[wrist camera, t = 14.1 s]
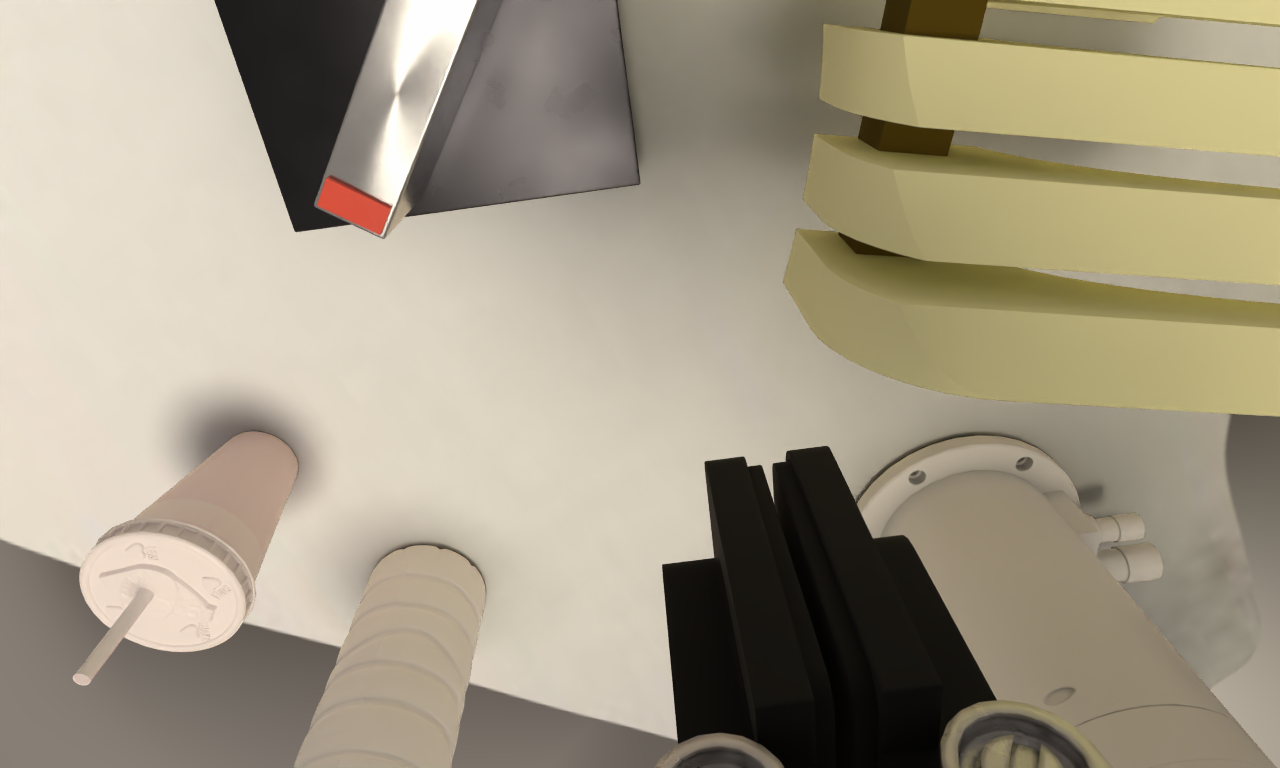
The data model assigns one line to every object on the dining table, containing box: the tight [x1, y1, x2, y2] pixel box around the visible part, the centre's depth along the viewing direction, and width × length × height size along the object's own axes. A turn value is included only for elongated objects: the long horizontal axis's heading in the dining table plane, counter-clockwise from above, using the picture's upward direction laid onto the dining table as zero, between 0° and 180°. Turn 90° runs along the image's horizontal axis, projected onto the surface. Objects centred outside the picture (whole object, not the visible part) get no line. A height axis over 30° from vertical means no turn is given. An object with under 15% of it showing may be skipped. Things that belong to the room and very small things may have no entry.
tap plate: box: [215, 0, 640, 232], centre depth 29 cm, size 14×10×3 cm
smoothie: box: [73, 431, 298, 685], centre depth 33 cm, size 6×6×14 cm
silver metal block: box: [314, 0, 502, 239], centre depth 25 cm, size 9×2×6 cm, turn 152°
